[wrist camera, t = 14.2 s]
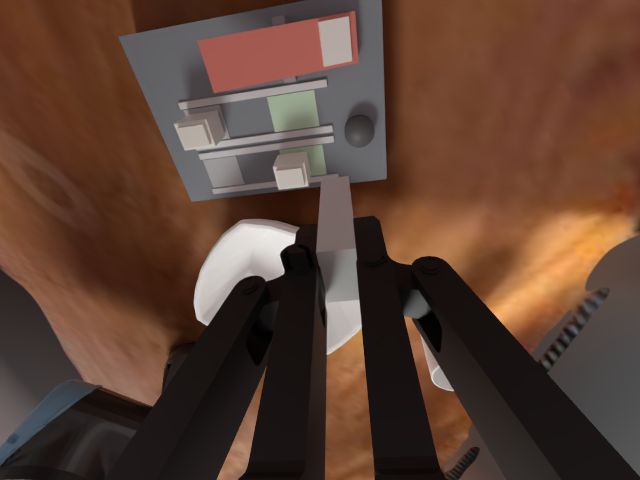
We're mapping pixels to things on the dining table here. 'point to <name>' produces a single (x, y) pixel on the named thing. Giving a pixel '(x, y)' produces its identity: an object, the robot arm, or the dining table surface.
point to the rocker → (280, 51)
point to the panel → (268, 104)
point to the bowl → (261, 273)
